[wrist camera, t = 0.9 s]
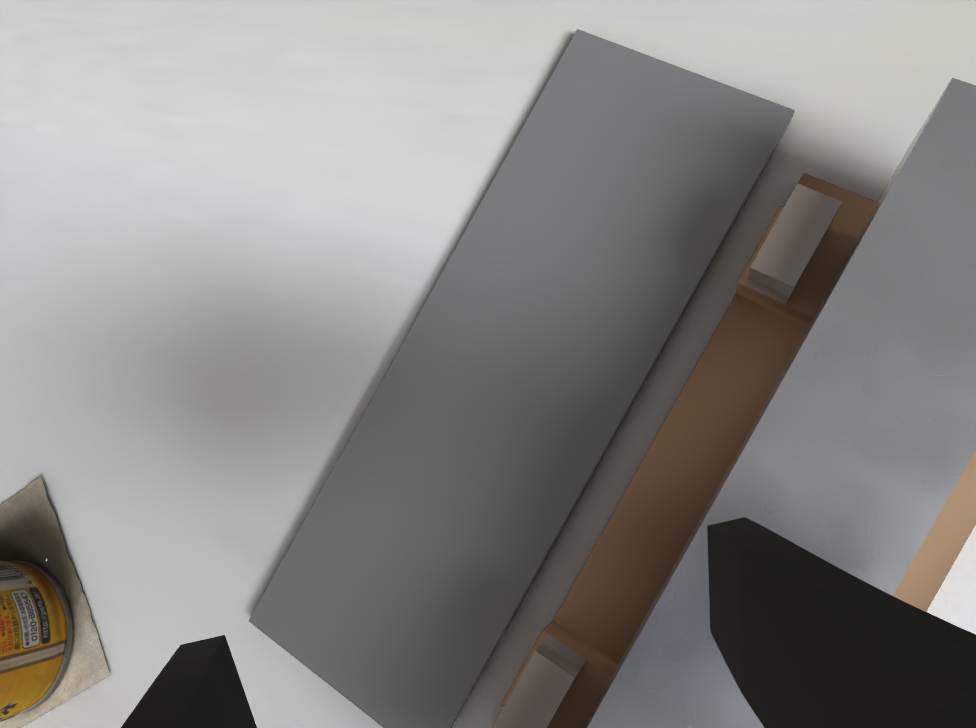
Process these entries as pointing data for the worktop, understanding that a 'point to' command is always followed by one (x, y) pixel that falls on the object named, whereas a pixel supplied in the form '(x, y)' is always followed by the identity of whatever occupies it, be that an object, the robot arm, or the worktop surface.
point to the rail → (840, 428)
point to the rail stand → (711, 465)
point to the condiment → (41, 614)
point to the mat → (515, 379)
